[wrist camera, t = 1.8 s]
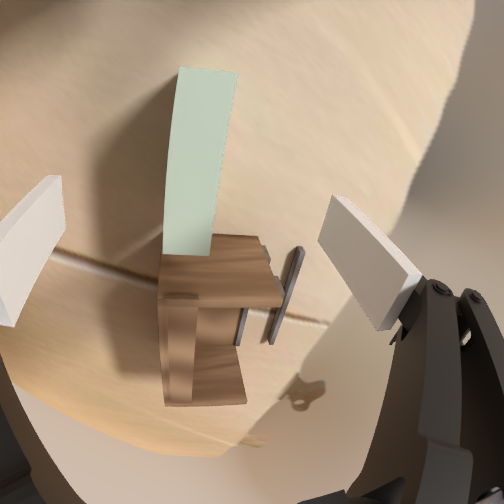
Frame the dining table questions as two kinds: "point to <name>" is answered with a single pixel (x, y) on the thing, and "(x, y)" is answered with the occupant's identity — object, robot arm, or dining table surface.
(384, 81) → the dining table surface
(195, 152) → the door
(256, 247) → the cabinet
